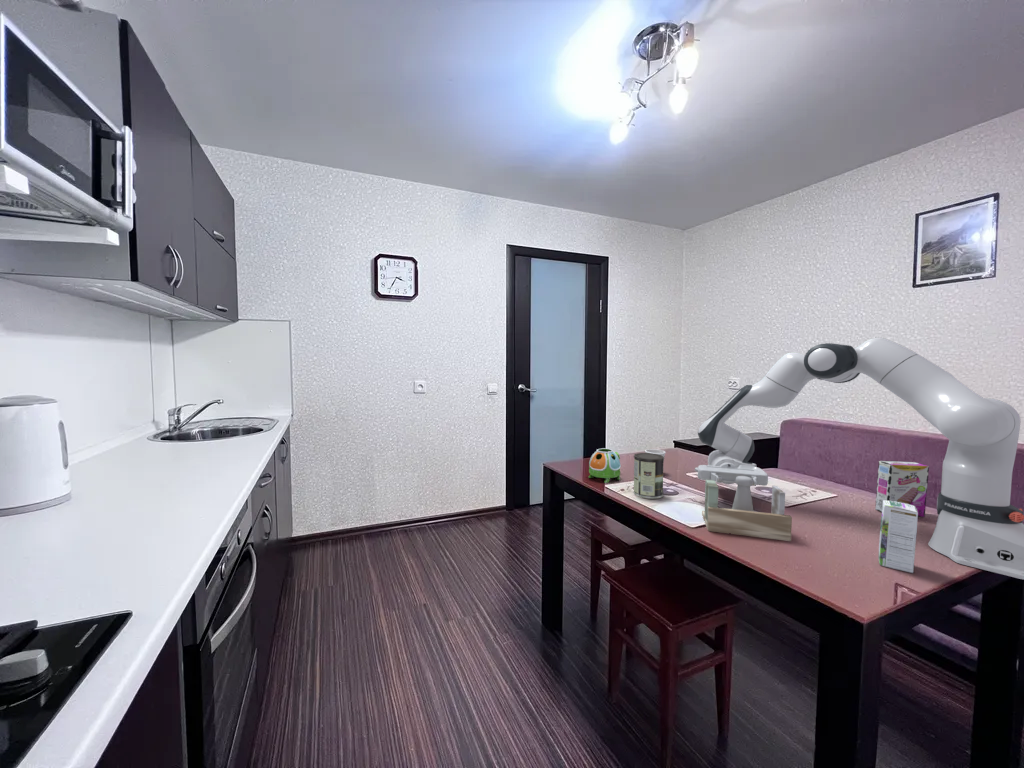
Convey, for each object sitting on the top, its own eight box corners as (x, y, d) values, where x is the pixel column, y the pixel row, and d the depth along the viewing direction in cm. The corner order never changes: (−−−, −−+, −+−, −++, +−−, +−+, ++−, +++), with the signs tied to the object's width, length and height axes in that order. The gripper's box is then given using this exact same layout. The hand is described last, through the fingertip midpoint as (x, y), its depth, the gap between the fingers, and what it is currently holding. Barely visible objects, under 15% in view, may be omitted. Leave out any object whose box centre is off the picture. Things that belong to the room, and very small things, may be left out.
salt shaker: (728, 520, 114) (729, 476, 113) (733, 515, 118) (735, 472, 117) (751, 526, 109) (753, 481, 109) (756, 520, 114) (757, 476, 113)
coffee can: (655, 489, 147) (656, 452, 146) (668, 498, 137) (669, 459, 136) (629, 489, 147) (629, 452, 146) (639, 499, 136) (640, 459, 136)
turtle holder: (631, 475, 165) (631, 448, 164) (609, 485, 152) (609, 455, 151) (605, 470, 174) (605, 443, 173) (582, 478, 161) (582, 450, 160)
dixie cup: (662, 471, 171) (663, 449, 171) (667, 477, 163) (667, 453, 163) (642, 470, 173) (643, 448, 172) (646, 476, 164) (647, 452, 164)
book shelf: (701, 515, 122) (703, 476, 121) (776, 523, 116) (777, 482, 115) (708, 530, 110) (709, 487, 110) (790, 541, 104) (792, 495, 104)
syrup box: (877, 556, 96) (880, 498, 95) (911, 564, 92) (915, 504, 92) (879, 565, 92) (882, 505, 91) (915, 574, 88) (919, 511, 87)
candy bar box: (887, 516, 122) (890, 464, 121) (874, 510, 127) (877, 460, 126) (927, 517, 121) (930, 465, 120) (912, 511, 126) (915, 461, 125)
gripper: (694, 458, 138) (699, 468, 125) (760, 463, 131) (774, 475, 118) (693, 476, 138) (699, 488, 125) (759, 482, 132) (773, 495, 118)
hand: (736, 481), depth 121 cm, fingers open, 8 cm apart
